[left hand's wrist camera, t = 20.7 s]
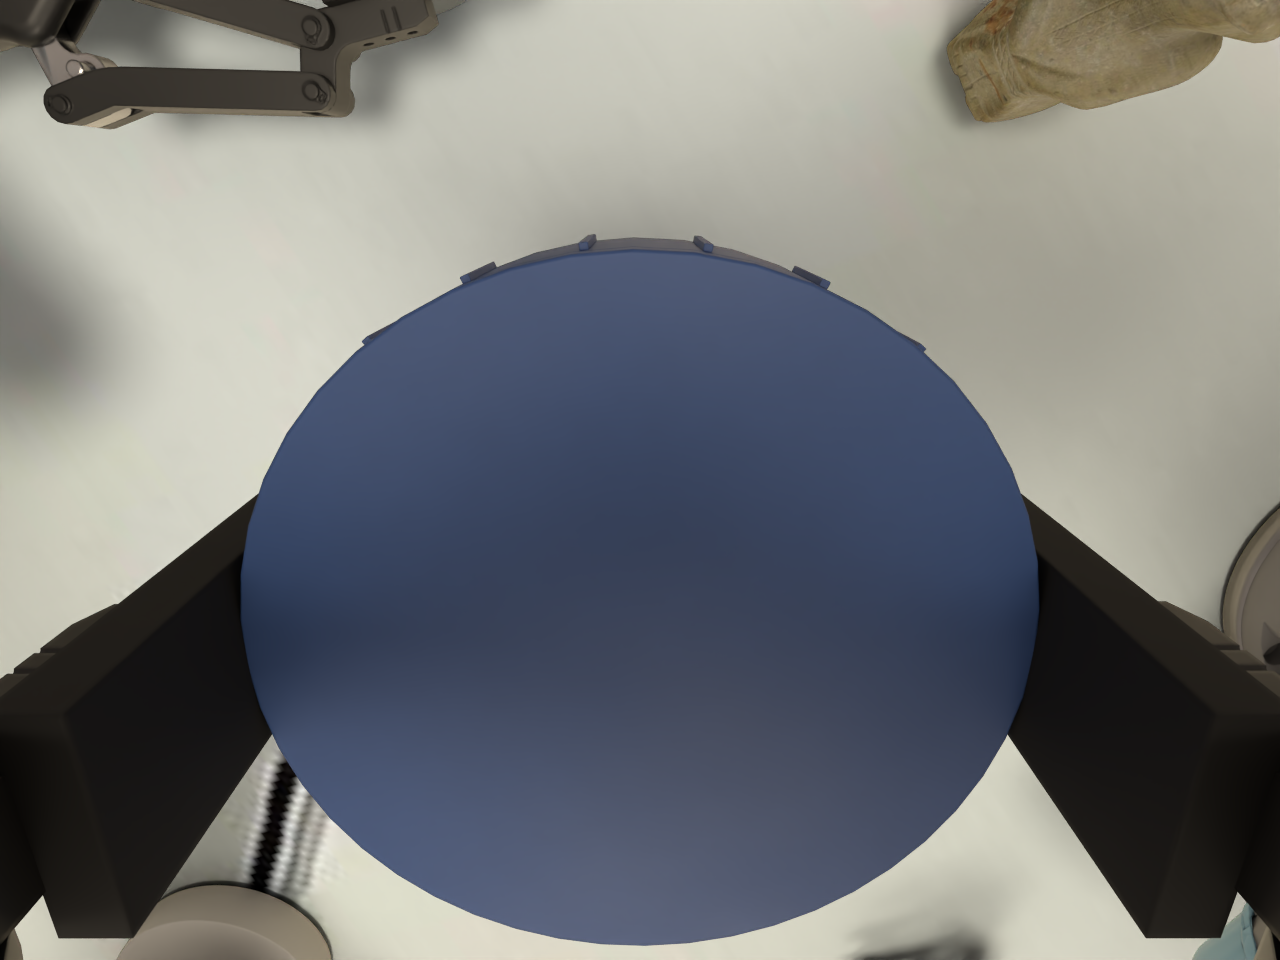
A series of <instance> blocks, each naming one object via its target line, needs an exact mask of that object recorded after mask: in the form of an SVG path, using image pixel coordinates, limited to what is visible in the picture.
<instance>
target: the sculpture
mask: <svg viewBox="0 0 1280 960" xmlns="http://www.w3.org/2000/svg"><path fill="white" fill-rule="evenodd" d="M1223 36H1224V37H1228V38H1233V39H1237V40H1241V41H1246V42H1251V43H1261V42H1268V41H1271V40H1274V39H1276V38H1278V37H1279V36H1280V0H993V1H991V2H990V3H989V4H988V5H987V6H986V7H985V8H984V9H983V10H982V11H981V12H980V13H979V14H978V15H976V17H975V18H974V19H973V20H972V21H971V22H970V24H969V25H968V26H967V27H965V28H964V29H963V30H962V31H961V32H960V33H959V34H958V35H957V36H956V37H955V38H954V39H953V40H952V41H951V42H950V43H949V44H948V46H947V54H948V57H949V61H950V64H951V67H952V70H953V72H954V73H955V74H956V75H958V76H959V78H960V81H961V84H962V86H963V89H964V91H965V94H966V97H965V100H966V103H967V105H968V107H969V109H970V111H971V113H972V114H973V116H974V118H975V119H976V120H977V121H983V122H998V121H1004V120H1010V119H1015V118H1019V117H1022V116H1026V115H1029V114H1032V113H1036V112H1039V111H1042V110H1044V109H1047V108H1049V107H1052V106H1054V105H1056V104H1059V103H1060V102H1062V103H1064V104H1067V105H1069V106H1072V107H1075V108H1079V109H1086V110H1087V109H1092V108H1098V107H1103V106H1107V105H1110V104H1113V103H1116V102H1119V101H1122V100H1126V99H1129V98H1133V97H1137V96H1140V95H1144V94H1148V93H1152V92H1155V91H1159V90H1163V89H1166V88H1169V87H1172V86H1175V85H1178V84H1180V83H1182V82H1184V81H1186V80H1188V79H1190V78H1191V77H1193V76H1195V75H1196V74H1198V73H1199V72H1200V71H1201V70H1203V69H1204V68H1205V67H1206V66H1208V65H1209V64H1210V63H1211V62H1212V61H1213V59H1214V58H1215V56H1216V55H1217V54H1218V52H1219V50H1220V48H1221V45H1222V40H1223Z"/></svg>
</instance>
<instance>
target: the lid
mask: <svg viewBox="0 0 1280 960" xmlns="http://www.w3.org/2000/svg"><path fill="white" fill-rule="evenodd" d="M460 279H461V281H462V283H463V284H462V285H460V286H458V287H456V288H454V289H452V290H450V291H448V292H447V293H445V294H443V295H441V296H439V297H437V298H436V299H434V300H432V301H430V302H428V303H427V304H425V305H423V306H421V307H419V308H417V309H416V310H414V311H412V312H410V313H408V314H406V315H405V316H403V317H401V318H400V319H398V320H397V321H396V322H394V323H392V324H390V325H388V326H386V327H384V328H382V329H380V330H378V331H376V332H375V333H373V334H371V335H369V336H367V337H366V338H365V339H364V340H363V341H362V343H363V344H364V346H363V347H361V348H360V349H359V350H357V351H356V352H355V353H354V354H353V355H352V356H351V357H350V358H349V359H348V360H347V361H346V362H345V363H344V364H343V365H342V366H341V367H340V368H339V369H338V370H337V371H336V372H335V373H334V374H333V375H332V376H331V377H330V378H329V380H328V381H327V382H326V383H325V384H324V385H323V386H322V387H321V388H320V389H319V390H318V391H317V392H316V393H315V395H314V396H313V398H312V399H311V400H310V402H309V403H308V405H307V406H306V407H305V409H304V410H303V411H302V413H301V414H300V416H299V417H298V418H297V420H296V421H295V423H294V424H293V425H292V427H291V428H290V430H289V431H288V432H287V434H286V436H285V438H284V440H283V442H282V444H281V446H280V447H279V449H278V451H277V453H276V455H275V457H274V459H273V461H272V463H271V465H270V467H269V469H268V471H267V473H266V475H265V477H264V479H263V482H262V485H261V488H260V491H259V494H258V497H257V501H256V504H255V507H254V510H253V513H252V516H251V519H250V522H249V525H248V531H247V537H246V544H245V550H244V556H243V562H242V569H241V626H242V633H243V639H244V644H245V649H246V654H247V660H248V665H249V669H250V674H251V678H252V682H253V686H254V689H255V692H256V696H257V699H258V702H259V705H260V708H261V711H262V713H263V715H264V717H265V719H266V721H267V724H268V726H269V728H270V730H271V732H272V734H273V736H274V739H275V741H276V743H277V745H278V747H279V749H280V751H281V752H282V754H283V755H284V757H285V758H286V760H287V762H288V763H289V765H290V766H291V768H292V769H293V771H294V773H295V774H296V776H297V777H298V779H299V780H300V782H301V783H302V785H303V786H304V787H305V789H306V790H307V791H308V792H309V793H310V795H311V796H312V797H313V798H314V799H315V801H316V802H317V803H318V804H319V805H320V807H321V808H322V809H323V810H324V811H325V813H326V814H327V815H328V816H329V817H330V819H331V820H333V821H334V822H335V823H336V824H337V825H338V826H339V827H340V828H341V829H342V830H343V831H344V832H345V833H346V834H347V835H348V836H350V837H351V838H352V839H353V840H354V841H355V842H356V843H357V844H358V845H359V846H360V847H361V848H362V849H364V850H365V851H366V852H368V853H369V854H370V855H372V856H373V857H374V858H376V859H377V860H378V861H380V862H381V863H382V864H384V865H385V866H386V867H388V868H389V869H390V870H392V871H393V872H394V873H396V874H397V875H399V876H401V877H402V878H404V879H406V880H407V881H409V882H411V883H412V884H414V885H416V886H418V887H419V888H421V889H423V890H424V891H426V892H428V893H429V894H431V895H433V896H435V897H437V898H439V899H441V900H443V901H446V902H448V903H450V904H452V905H454V906H456V907H459V908H461V909H463V910H465V911H467V912H470V913H472V914H474V915H477V916H480V917H483V918H486V919H489V920H492V921H495V922H498V923H501V924H504V925H507V926H509V927H512V928H515V929H520V930H524V931H528V932H533V933H537V934H541V935H546V936H550V937H554V938H559V939H567V940H574V941H582V942H589V943H597V944H613V945H641V946H648V945H664V944H681V943H692V942H699V941H705V940H711V939H718V938H724V937H731V936H735V935H739V934H743V933H747V932H751V931H754V930H758V929H762V928H766V927H770V926H774V925H777V924H779V923H782V922H785V921H788V920H790V919H793V918H796V917H798V916H801V915H804V914H807V913H809V912H812V911H815V910H817V909H819V908H821V907H823V906H825V905H827V904H829V903H831V902H833V901H835V900H838V899H840V898H842V897H844V896H846V895H848V894H850V893H852V892H854V891H856V890H857V889H859V888H860V887H862V886H864V885H865V884H867V883H868V882H870V881H872V880H873V879H875V878H876V877H878V876H880V875H881V874H883V873H884V872H886V871H888V870H889V869H891V868H892V867H893V866H895V865H896V864H897V863H899V862H900V861H901V860H902V859H904V858H905V857H906V856H907V855H909V854H910V853H911V852H912V851H914V850H915V849H916V848H917V847H919V846H920V845H921V844H923V843H924V842H925V841H926V840H927V839H928V838H929V837H930V836H931V835H932V834H933V833H934V832H935V831H936V830H937V829H938V828H939V827H940V826H941V825H942V824H943V823H944V822H945V821H946V820H947V819H948V818H949V817H950V816H951V815H952V814H953V813H954V812H955V811H956V810H957V809H958V808H959V806H960V805H961V804H962V802H963V801H964V800H965V799H966V797H967V796H968V795H969V794H970V792H971V791H972V790H973V788H974V787H975V786H976V785H977V783H978V782H979V781H980V780H981V778H982V777H983V776H984V774H985V772H986V770H987V769H988V767H989V765H990V764H991V762H992V760H993V759H994V757H995V755H996V754H997V752H998V750H999V749H1000V747H1001V745H1002V744H1003V742H1004V740H1005V739H1006V736H1007V734H1008V732H1009V729H1010V727H1011V724H1012V722H1013V720H1014V717H1015V715H1016V713H1017V710H1018V708H1019V706H1020V703H1021V701H1022V699H1023V695H1024V692H1025V687H1026V683H1027V678H1028V674H1029V669H1030V665H1031V660H1032V656H1033V651H1034V645H1035V640H1036V634H1037V627H1038V619H1039V610H1040V608H1039V582H1038V561H1037V556H1036V551H1035V546H1034V541H1033V535H1032V530H1031V525H1030V520H1029V515H1028V512H1027V509H1026V507H1025V504H1024V501H1023V498H1022V496H1021V493H1020V490H1019V487H1018V485H1017V482H1016V479H1015V476H1014V474H1013V471H1012V468H1011V466H1010V465H1009V463H1008V461H1007V459H1006V457H1005V456H1004V454H1003V452H1002V450H1001V448H1000V447H999V445H998V443H997V441H996V439H995V437H994V436H993V434H992V432H991V430H990V428H989V427H988V425H987V423H986V422H985V421H984V419H983V418H982V417H981V415H980V414H979V413H978V412H977V410H976V409H975V408H974V406H973V405H972V404H971V403H970V401H969V400H968V399H967V397H966V396H965V395H964V393H963V392H962V391H961V390H960V388H959V387H958V386H957V384H956V383H955V382H954V381H953V380H952V379H951V378H950V377H949V376H948V375H947V374H946V373H945V372H944V371H943V370H942V369H941V368H940V367H938V366H937V365H936V364H935V363H934V362H933V361H932V360H931V359H930V358H929V357H928V356H927V355H926V354H925V353H924V351H925V350H926V348H925V347H924V346H923V345H922V344H920V343H918V342H917V341H915V340H913V339H911V338H909V337H907V336H905V335H903V334H902V333H900V332H898V331H896V330H895V329H893V328H892V327H890V326H889V325H887V324H886V323H885V322H883V321H882V320H880V319H879V318H877V317H876V316H875V315H873V314H872V313H870V312H869V311H867V310H866V309H864V308H862V307H860V306H858V305H856V304H854V303H852V302H850V301H848V300H846V299H844V298H842V297H840V296H838V295H836V294H835V293H833V292H831V291H829V290H827V289H828V287H829V285H830V282H829V281H827V280H825V279H823V278H821V277H818V276H816V275H814V274H812V273H810V272H808V271H805V270H803V269H801V268H799V267H797V266H794V268H793V270H792V272H791V271H789V270H787V269H785V268H783V267H781V266H779V265H777V264H774V263H771V262H768V261H765V260H762V259H759V258H756V257H753V256H750V255H747V254H744V253H741V252H738V251H735V250H732V249H727V248H722V247H717V246H714V245H713V244H711V243H710V242H709V241H707V240H706V239H704V238H703V237H701V236H694V241H693V242H691V241H686V240H671V239H652V238H623V239H611V240H599V241H596V235H595V234H593V235H588V236H587V237H585V238H584V239H583V240H582V241H580V242H579V243H577V244H572V245H568V246H563V247H559V248H554V249H550V250H546V251H541V252H537V253H534V254H531V255H528V256H526V257H523V258H520V259H518V260H515V261H513V262H510V263H507V264H505V265H502V266H499V267H496V265H495V263H494V262H492V263H489V264H487V265H485V266H483V267H481V268H478V269H476V270H474V271H472V272H470V273H468V274H466V275H463V276H461V277H460Z"/></svg>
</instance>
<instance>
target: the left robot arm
mask: <svg viewBox="0 0 1280 960" xmlns="http://www.w3.org/2000/svg"><path fill="white" fill-rule="evenodd" d="M1021 496H1022V498H1023V501H1024V504H1025V507H1026V509H1027V512H1028V515H1029V520H1030V525H1031V530H1032V535H1033V541H1034V546H1035V551H1036V556H1037V561H1038V582H1039V608H1040V610H1039V619H1038V627H1037V634H1036V640H1035V645H1034V651H1033V656H1032V660H1031V665H1030V669H1029V674H1028V678H1027V683H1026V687H1025V692H1024V695H1023V699H1022V701H1021V703H1020V706H1019V708H1018V710H1017V713H1016V715H1015V717H1014V720H1013V722H1012V724H1011V727H1010V729H1009V732H1008V736H1009V737H1010V739H1011V740H1012V742H1013V743H1014V745H1015V746H1016V748H1017V749H1018V751H1019V752H1020V753H1021V755H1022V756H1023V758H1024V759H1025V761H1026V762H1027V764H1028V765H1029V767H1030V768H1031V770H1032V771H1033V773H1034V774H1035V776H1036V777H1037V778H1038V780H1039V781H1040V783H1041V784H1042V786H1043V787H1044V789H1045V790H1046V792H1047V793H1048V795H1049V796H1050V798H1051V799H1052V801H1053V802H1054V804H1055V805H1056V806H1057V808H1058V809H1059V811H1060V812H1061V814H1062V815H1063V817H1064V818H1065V820H1066V821H1067V823H1068V824H1069V826H1070V827H1071V829H1072V830H1073V831H1074V833H1075V834H1076V836H1077V837H1078V839H1079V840H1080V842H1081V843H1082V845H1083V846H1084V848H1085V849H1086V851H1087V852H1088V854H1089V855H1090V857H1091V858H1092V859H1093V861H1094V862H1095V864H1096V865H1097V867H1098V868H1099V870H1100V871H1101V873H1102V874H1103V876H1104V877H1105V879H1106V880H1107V882H1108V883H1109V884H1110V886H1111V887H1112V889H1113V890H1114V892H1115V893H1116V895H1117V896H1118V898H1119V899H1120V901H1121V902H1122V904H1123V905H1124V907H1125V908H1126V910H1127V911H1128V912H1129V914H1130V915H1131V917H1132V918H1133V920H1134V921H1135V923H1136V924H1137V926H1138V927H1139V929H1140V930H1141V932H1142V933H1143V935H1144V936H1145V937H1146V938H1210V939H1208V940H1207V941H1206V942H1204V943H1203V944H1202V945H1201V946H1200V947H1199V948H1198V950H1197V951H1196V953H1195V955H1194V957H1193V959H1192V960H1280V508H1279V509H1278V510H1277V511H1276V512H1275V513H1274V514H1273V515H1271V516H1270V518H1269V519H1268V520H1267V521H1266V522H1265V523H1264V524H1263V525H1262V526H1261V527H1260V529H1259V530H1258V531H1257V532H1256V534H1255V535H1254V536H1253V537H1252V539H1251V540H1250V542H1249V543H1248V545H1247V546H1246V548H1245V549H1244V551H1243V552H1242V554H1241V556H1240V558H1239V559H1238V561H1237V563H1236V565H1235V567H1234V570H1233V572H1232V574H1231V577H1230V580H1229V583H1228V586H1227V589H1226V594H1225V598H1224V605H1223V629H1224V633H1223V632H1221V631H1220V630H1219V629H1217V628H1216V627H1215V626H1213V625H1212V624H1211V623H1209V622H1208V621H1206V620H1204V619H1202V618H1200V617H1198V616H1195V615H1193V614H1191V613H1189V612H1187V611H1185V610H1183V609H1181V608H1179V607H1177V606H1174V605H1172V604H1170V603H1168V602H1166V601H1157V600H1155V599H1154V598H1153V597H1152V596H1150V595H1149V594H1148V593H1147V592H1145V591H1144V590H1143V589H1141V588H1140V587H1139V586H1138V585H1136V584H1135V583H1134V582H1133V581H1131V580H1130V579H1129V578H1127V577H1126V576H1125V575H1124V574H1122V573H1121V572H1120V571H1119V570H1117V569H1116V568H1115V567H1114V566H1112V565H1111V564H1110V563H1108V562H1107V561H1106V560H1105V559H1103V558H1102V557H1101V556H1100V555H1098V554H1097V553H1096V552H1094V551H1093V550H1092V549H1091V548H1089V547H1088V546H1087V545H1086V544H1084V543H1083V542H1082V541H1081V540H1079V539H1078V538H1077V537H1075V536H1074V535H1073V534H1072V533H1070V532H1069V531H1068V530H1067V529H1065V528H1064V527H1063V526H1061V525H1060V524H1059V523H1058V522H1056V521H1055V520H1054V519H1053V518H1051V517H1050V516H1049V515H1048V514H1046V513H1045V512H1044V511H1042V510H1041V509H1040V508H1039V507H1037V506H1036V505H1035V504H1034V503H1032V502H1031V501H1030V500H1028V499H1027V498H1026V497H1025V496H1023V495H1022V494H1021ZM257 497H258V494H257V495H256V496H255V497H254V498H252V499H251V500H250V501H248V502H247V503H246V504H245V505H243V506H242V507H241V508H240V509H238V510H237V511H236V512H234V513H233V514H232V515H231V516H229V517H228V518H227V519H226V520H224V521H223V522H222V523H220V524H219V525H218V526H217V527H215V528H214V529H213V530H212V531H210V532H209V533H208V534H207V535H205V536H204V537H203V538H201V539H200V540H199V541H198V542H196V543H195V544H194V545H193V546H191V547H190V548H189V549H187V550H186V551H185V552H184V553H182V554H181V555H180V556H179V557H177V558H176V559H175V560H174V561H172V562H171V563H170V564H168V565H167V566H166V567H165V568H163V569H162V570H161V571H160V572H158V573H157V574H156V575H154V576H153V577H152V578H151V579H149V580H148V581H147V582H146V583H144V584H143V585H142V586H141V587H139V588H138V589H137V590H135V591H134V592H133V593H132V594H130V595H129V596H128V597H127V598H125V599H124V600H123V601H121V602H120V603H119V604H114V605H112V606H109V607H107V608H105V609H103V610H101V611H99V612H97V613H95V614H93V615H91V616H89V617H87V618H85V619H82V620H80V621H78V622H76V623H74V624H72V625H71V626H69V627H68V628H67V629H65V630H64V631H63V632H61V633H60V634H59V635H58V636H56V637H55V638H54V639H52V640H51V641H50V642H48V643H47V644H46V645H44V646H43V647H42V648H40V649H41V651H40V653H34V654H33V655H31V656H30V657H29V658H27V659H26V660H25V661H23V662H22V663H21V664H19V665H18V666H17V667H15V668H14V673H13V674H6V675H5V676H4V677H2V678H1V679H0V960H23V955H22V949H21V944H20V942H19V939H18V936H17V934H16V931H15V929H14V928H15V927H16V926H17V925H18V923H19V922H20V921H21V920H22V919H23V918H24V916H25V915H26V914H27V913H28V912H29V911H30V909H31V908H32V907H33V906H34V905H35V904H36V902H37V901H38V900H39V899H40V898H41V896H42V895H43V896H44V899H45V902H46V905H47V907H48V910H49V913H50V916H51V919H52V921H53V924H54V927H55V930H56V932H57V935H58V938H134V937H135V935H136V934H137V932H138V931H139V929H140V928H141V926H142V925H143V923H144V922H145V921H146V919H147V918H148V916H149V915H150V913H151V912H152V910H153V909H154V907H155V906H156V904H157V903H158V901H159V900H160V898H161V897H162V895H163V894H164V893H165V891H166V890H167V888H168V887H169V885H170V884H171V882H172V881H173V879H174V878H175V876H176V875H177V873H178V872H179V870H180V869H181V868H182V866H183V865H184V863H185V862H186V860H187V859H188V857H189V856H190V854H191V853H192V851H193V850H194V848H195V847H196V845H197V844H198V842H199V841H200V840H201V838H202V837H203V835H204V834H205V832H206V831H207V829H208V828H209V826H210V825H211V823H212V822H213V820H214V819H215V817H216V816H217V815H218V813H219V812H220V810H221V809H222V807H223V806H224V804H225V803H226V801H227V800H228V798H229V797H230V795H231V794H232V792H233V791H234V790H235V788H236V787H237V785H238V784H239V782H240V781H241V779H242V778H243V776H244V775H245V773H246V772H247V770H248V769H249V767H250V766H251V764H252V763H253V762H254V760H255V759H256V757H257V756H258V754H259V753H260V751H261V750H262V748H263V747H264V745H265V744H266V742H267V741H268V739H269V738H270V737H271V735H272V732H271V730H270V728H269V726H268V724H267V721H266V719H265V717H264V715H263V713H262V711H261V708H260V705H259V702H258V699H257V696H256V692H255V689H254V686H253V682H252V678H251V674H250V669H249V665H248V660H247V654H246V649H245V644H244V639H243V633H242V626H241V569H242V562H243V556H244V550H245V544H246V537H247V531H248V525H249V522H250V519H251V516H252V513H253V510H254V507H255V504H256V501H257ZM1237 892H1238V893H1239V894H1240V895H1241V896H1242V897H1243V899H1244V900H1245V901H1246V904H1245V906H1244V908H1243V911H1242V912H1241V913H1240V914H1239V915H1238V916H1237V917H1236V918H1234V919H1233V920H1232V921H1231V922H1230V923H1228V924H1227V925H1226V922H1227V919H1228V917H1229V914H1230V911H1231V908H1232V906H1233V903H1234V900H1235V897H1236V894H1237ZM1225 925H1226V926H1225Z"/></svg>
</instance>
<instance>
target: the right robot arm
mask: <svg viewBox="0 0 1280 960" xmlns="http://www.w3.org/2000/svg"><path fill="white" fill-rule="evenodd" d="M100 1H101V0H0V52H1V51H5V50H9V49H11V48H14V47H17V46H25V47H29V48H31V49H32V50H33V52H34V54H35V56H36V58H37V60H38V62H39V63H40V65H41V67H42V69H43V71H44V73H45V74H46V76H47V78H48V80H49V82H50V84H51V87H50V88H48V89H47V90H46V92H45V94H44V105H45V108H46V111H47V112H48V113H49V115H50V116H51V117H52V118H53V119H55V120H56V121H57V122H60V123H64V124H71V125H80V126H88V127H97V128H104V129H115V128H118V127H121V126H123V125H125V124H128V123H130V122H133V121H135V120H138V119H140V118H143V117H145V116H148V115H150V114H153V113H190V114H228V115H266V116H304V117H345V116H348V115H349V114H350V113H351V112H352V110H353V109H354V105H355V98H354V95H353V92H352V91H351V89H350V69H351V64H352V62H354V61H356V60H357V59H358V58H359V57H360V54H361V52H363V51H365V50H369V49H373V48H377V47H380V46H384V45H388V44H392V43H396V42H399V41H403V40H407V39H410V38H415V37H418V36H422V35H426V34H428V33H429V32H430V31H432V30H433V29H434V28H435V27H436V26H437V25H439V23H438V19H437V16H436V12H435V9H434V5H433V1H432V0H322V1H323V3H324V4H326V5H327V6H328V7H324V8H320V9H315V8H313V7H309V6H306V5H303V4H299V3H296V2H293V1H289V0H133V1H136V2H139V3H143V4H146V5H150V6H153V7H157V8H160V9H166V10H169V11H173V12H176V13H180V14H183V15H186V16H190V17H193V18H197V19H200V20H203V21H207V22H210V23H214V24H217V25H220V26H224V27H227V28H231V29H234V30H238V31H241V32H244V33H248V34H251V35H255V36H258V37H261V38H265V39H268V40H272V41H275V42H278V43H282V44H285V45H289V46H292V47H296V48H299V49H300V69H301V71H265V70H228V69H190V68H153V67H118V66H117V65H116V64H115V63H114V62H113V61H112V60H110V59H108V58H104V57H100V56H96V55H92V54H88V53H82V52H81V51H80V50H79V49H78V48H77V47H76V44H77V43H78V41H79V40H80V38H81V36H82V34H83V32H84V31H85V29H86V27H87V25H88V23H89V21H90V20H91V18H92V16H93V14H94V12H95V10H96V9H97V7H98V5H99V3H100Z"/></svg>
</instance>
